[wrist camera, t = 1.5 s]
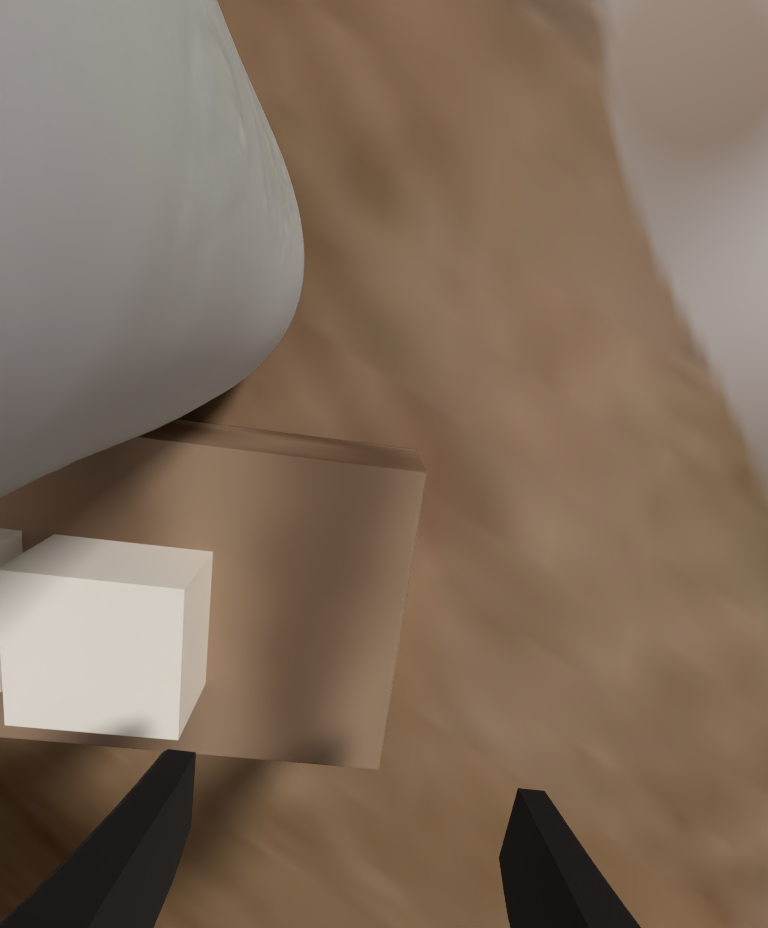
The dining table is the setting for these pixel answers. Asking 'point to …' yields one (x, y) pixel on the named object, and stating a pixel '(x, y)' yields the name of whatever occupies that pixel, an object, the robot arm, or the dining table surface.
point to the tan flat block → (259, 577)
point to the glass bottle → (131, 225)
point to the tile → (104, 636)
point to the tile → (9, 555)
